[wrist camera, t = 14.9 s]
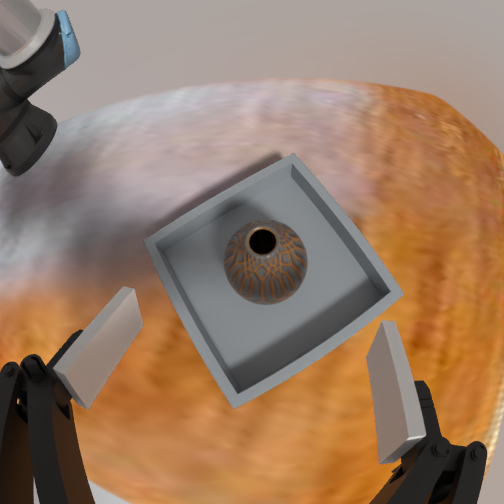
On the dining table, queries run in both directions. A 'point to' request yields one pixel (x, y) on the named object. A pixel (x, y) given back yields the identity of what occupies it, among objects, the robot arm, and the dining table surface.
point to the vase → (265, 262)
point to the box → (281, 314)
